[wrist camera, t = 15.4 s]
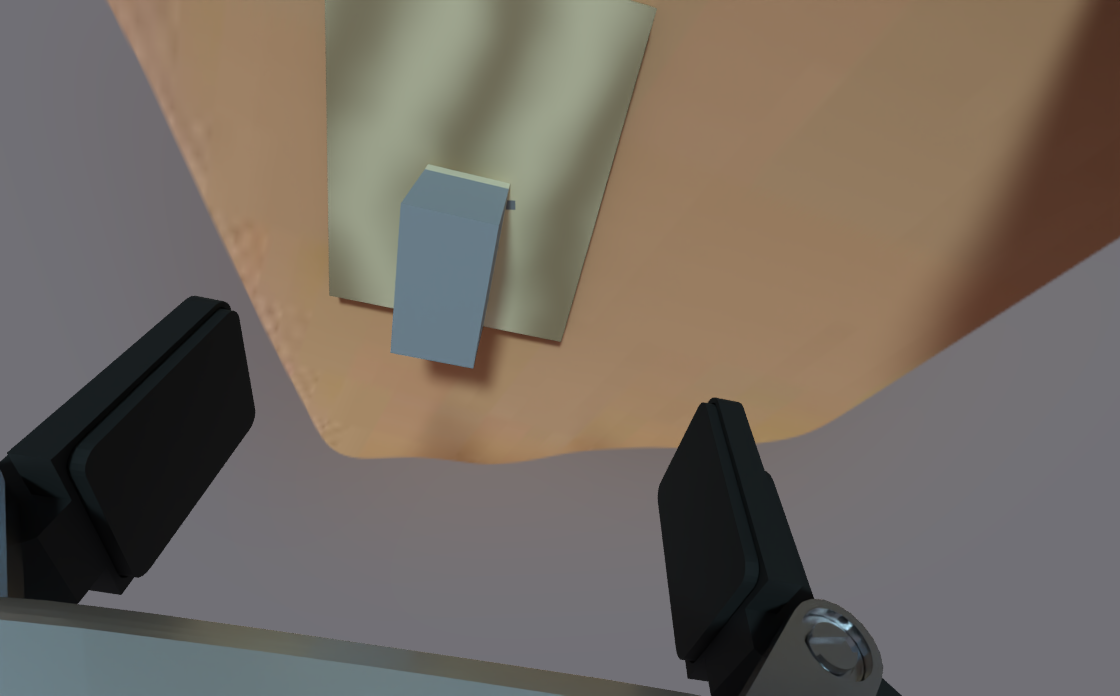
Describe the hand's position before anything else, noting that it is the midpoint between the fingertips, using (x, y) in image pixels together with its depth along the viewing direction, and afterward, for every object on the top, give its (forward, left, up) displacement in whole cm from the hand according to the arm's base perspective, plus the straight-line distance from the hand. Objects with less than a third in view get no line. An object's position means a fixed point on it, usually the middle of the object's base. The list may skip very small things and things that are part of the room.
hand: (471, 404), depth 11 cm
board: (+3, +2, -20) cm, 21 cm away
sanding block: (+3, +6, -19) cm, 20 cm away
